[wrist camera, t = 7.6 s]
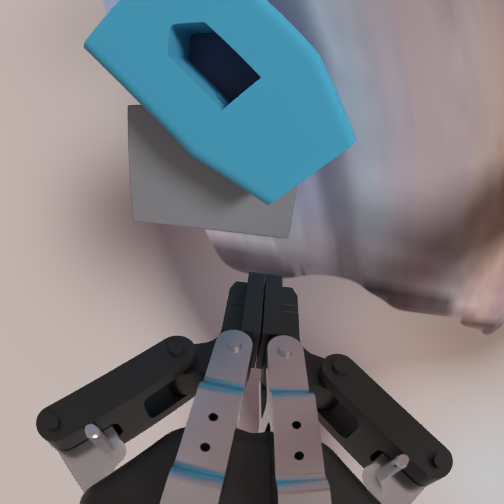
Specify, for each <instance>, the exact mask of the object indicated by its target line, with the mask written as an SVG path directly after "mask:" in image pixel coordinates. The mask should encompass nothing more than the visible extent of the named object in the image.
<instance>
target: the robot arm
mask: <svg viewBox="0 0 504 504" xmlns="http://www.w3.org/2000/svg"><path fill="white" fill-rule="evenodd" d="M264 281H265V284H264ZM256 357H257V363H256V368H259V369H261V378H260V383H259V405H260V406H259V408H260V409H259V410H260V424H259V433H249V432H246V431H243V430H240V429H238V423H239V417H240V413H241V409H242V404H243V399H244V394H245V389H246V384H247V381H248V379H249V375H250V369H251V368H254V367H255V362H256ZM194 396H195V399H194V402H193V405H192V408H191V411H190V414H189V418H188V421H187V424H186V427H184V428H180V429H177V430H175V431H172V432H170V433H169V434H167V435H165V436H164V437H163V438H161V439H160V440H158V441H157V442H156V443H154V444H153V445H152V446H150V447H149V448H147V449H146V450H145V451H143V452H142V453H140V454H139V455H138V456H136V457H135V458H133V459H132V460H130V461H129V462H127V463H126V464H125V465H123V466H121V467H120V468H118V469H117V470H115V471H114V469H115V467H116V466H117V464H119V463H120V462H121V461H122V460H123V459H124V457H125V454H126V446H125V443H126V442H128V441H129V440H131V439H133V438H134V437H136V436H137V435H139V434H140V433H142V432H143V431H145V430H146V429H148V428H150V427H151V426H152V425H154V424H155V423H157V422H158V421H160V420H161V419H163V418H164V417H166V416H167V415H169V414H170V413H172V412H173V411H175V410H176V409H177V408H179V407H180V406H182V405H183V404H184V403H186V402H187V401H189V400H190V399H191V398H193V397H194ZM319 422H320V423H321V424H322V425H323V426H324V427H325V429H326V430H327V431H328V432H329V433H330V434H331V435H332V436H333V437H334V438H335V439H336V440H337V441H338V442H339V443H340V444H341V445H342V446H343V447H344V449H345V450H347V452H348V453H349V454H350V455H351V456H352V457H353V458H354V459H355V460H356V461H357V462H358V463H359V464H360V465H361V466H362V467H363V468H364V470H363V474H362V479H363V482H364V484H365V485H366V487H367V488H368V489H367V488H366V487H365V486H364V485H363V483H362V482H361V481H360V480H359V479H358V478H357V477H356V476H355V475H354V474H353V473H352V472H351V471H350V469H349V468H348V467H347V466H346V465H345V464H344V463H343V462H342V460H341V459H340V458H339V457H338V456H337V455H336V454H335V453H334V451H333V450H331V449H330V448H329V447H328V446H327V445H325V444H323V443H321V436H320V428H319ZM36 426H37V430H38V432H39V434H40V435H41V436H42V437H43V438H44V439H45V440H46V441H48V442H49V443H50V445H51V446H52V447H54V448H55V449H56V450H57V451H58V452H59V453H60V455H61V457H62V459H63V460H64V462H65V464H66V465H67V467H68V468H69V470H70V472H71V473H72V475H73V476H74V478H75V480H76V481H77V483H78V484H79V485H80V487H81V489H82V490H83V491H84V494H83V496H82V498H81V501H80V504H411V503H412V502H413V501H414V499H415V498H416V497H417V496H418V495H419V494H420V493H421V491H422V490H423V489H424V488H425V487H426V486H427V485H429V484H431V483H433V482H435V481H437V480H439V479H441V478H443V477H445V476H446V475H447V474H448V473H449V472H450V470H451V468H452V464H453V459H452V455H451V453H450V451H449V450H448V449H447V448H446V447H445V446H444V445H442V444H441V443H440V442H439V441H438V440H437V439H436V438H435V437H434V436H433V435H432V434H430V433H429V432H428V431H427V430H426V429H425V428H424V427H423V426H422V425H421V424H420V423H419V422H418V421H416V420H415V419H414V418H413V417H412V416H411V415H410V414H409V413H408V412H407V411H406V410H405V409H404V408H402V407H401V406H400V405H399V404H398V403H397V402H396V401H395V400H394V399H393V398H392V397H391V396H390V395H389V394H387V393H386V392H385V391H384V390H383V389H382V388H381V387H380V386H379V385H378V384H377V383H376V382H375V381H374V380H373V379H372V378H370V377H369V376H368V375H367V374H366V373H365V372H364V371H363V370H362V369H361V368H360V367H359V366H358V365H357V364H356V363H354V362H353V361H352V360H351V359H350V358H349V357H347V356H345V355H342V354H332V355H329V356H327V357H326V358H325V359H324V358H321V357H319V356H316V355H313V354H311V353H309V352H308V351H306V350H305V349H304V348H303V346H302V345H301V343H300V338H299V320H298V300H297V295H296V293H295V292H294V290H293V288H289V287H282V275H273V274H266V277H265V274H264V273H256V272H249V277H248V283H245V282H235V283H234V284H233V286H232V287H231V288H230V291H229V296H228V301H227V306H226V311H225V316H224V321H223V326H222V330H221V333H220V335H219V336H218V337H217V338H216V339H214V340H212V341H210V342H207V343H200V344H193V342H192V341H191V340H189V339H188V338H186V337H183V336H171V337H168V338H166V339H164V340H163V341H161V342H159V343H158V344H156V345H155V346H153V347H151V348H149V349H148V350H146V351H144V352H143V353H141V354H139V355H138V356H136V357H134V358H133V359H131V360H129V361H128V362H126V363H124V364H122V365H120V366H119V367H117V368H115V369H114V370H112V371H110V372H108V373H107V374H105V375H103V376H102V377H100V378H98V379H96V380H94V381H93V382H91V383H89V384H87V385H86V386H84V387H82V388H80V389H79V390H77V391H75V392H73V393H71V394H70V395H68V396H66V397H64V398H63V399H61V400H59V401H57V402H55V403H53V404H52V405H50V406H48V407H46V408H45V409H43V410H42V411H41V412H40V413H39V415H38V417H37V421H36Z"/></svg>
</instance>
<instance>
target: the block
mask: <svg viewBox="0 0 504 504" xmlns="http://www.w3.org/2000/svg"><path fill="white" fill-rule="evenodd" d="M195 33H217V34H218V35H219V36H220V37H221V38H222V39H223V40H224V41H225V42H226V43H228V44H229V45H230V46H231V47H232V48H233V49H234V50H235V51H236V52H237V53H238V54H239V55H240V56H241V57H242V58H243V59H244V60H245V61H246V62H247V63H248V64H249V65H250V66H251V68H252V69H253V70H254V71H255V72H256V73H257V74H258V75H259V76H260V77H261V78H260V79H259V80H258V81H256V82H255V83H254V84H253V85H251V86H250V87H249V88H248V89H246V90H245V91H244V92H243V93H242V94H240V95H239V96H238V97H237V98H236V99H234V100H233V101H232V102H230V101H229V100H228V99H227V98H226V97H225V96H224V95H223V94H222V93H221V92H220V91H219V90H218V88H217V87H216V86H215V85H214V84H213V83H212V82H211V81H210V80H209V79H208V78H207V77H206V76H205V75H204V74H203V73H202V72H201V71H200V70H199V69H198V68H197V67H196V66H195V65H194V64H193V63H191V62H190V61H189V44H190V37H191V35H193V34H195ZM84 48H85V49H86V50H87V51H88V52H89V53H90V54H91V55H92V56H93V57H94V58H95V59H96V60H97V61H98V62H100V64H101V65H102V66H103V67H104V68H105V69H106V70H107V71H108V72H109V73H110V74H112V75H113V77H115V79H117V80H118V81H119V82H120V83H121V84H122V85H123V86H124V87H125V88H126V89H127V90H128V91H129V92H130V93H131V94H132V96H134V98H136V99H137V101H139V103H140V104H141V105H142V106H143V107H144V108H145V109H146V110H147V111H148V112H149V113H150V114H151V115H152V116H153V117H154V118H155V119H156V120H157V121H158V122H159V123H160V124H161V125H162V126H163V127H164V128H165V129H166V130H167V131H168V132H169V133H170V134H171V135H172V136H173V137H174V138H175V139H176V140H177V141H178V142H179V143H180V145H181V146H182V147H183V148H184V149H185V150H186V151H187V152H188V153H189V154H190V155H191V156H192V157H194V158H195V159H197V160H199V161H200V162H202V163H203V164H205V165H206V166H208V167H210V168H211V169H213V170H214V171H216V172H218V173H219V174H221V175H222V176H224V177H225V178H227V179H228V180H230V181H232V182H233V183H235V184H236V185H238V186H239V187H241V188H242V189H244V190H245V191H247V192H248V193H250V194H252V195H253V196H255V197H256V198H258V199H259V200H261V201H262V202H264V203H265V204H267V205H269V204H271V203H273V202H275V201H276V200H277V199H279V198H280V197H282V196H283V195H284V194H286V193H287V192H288V191H290V190H291V189H293V188H294V187H295V186H297V185H298V184H299V183H301V182H302V181H304V180H305V179H306V178H308V177H309V176H310V175H312V174H313V173H315V172H316V171H317V170H319V169H320V168H322V167H323V166H324V165H326V164H327V163H329V162H330V161H331V160H333V159H334V158H336V157H337V156H338V155H340V154H341V153H343V152H344V151H346V150H347V149H348V148H350V147H351V146H352V145H353V144H354V143H355V141H356V137H355V135H354V132H353V130H352V127H351V124H350V122H349V119H348V117H347V114H346V112H345V110H344V107H343V105H342V103H341V100H340V98H339V96H338V93H337V91H336V89H335V87H334V84H333V82H332V80H331V78H330V76H329V74H328V71H327V69H326V67H325V65H324V63H323V61H322V59H321V57H320V55H319V53H318V52H317V51H316V50H315V49H314V48H313V47H312V45H311V44H310V43H309V42H308V41H307V40H306V39H305V38H304V37H303V36H302V35H301V34H300V32H299V31H298V30H297V29H296V28H295V27H294V26H293V25H292V24H291V23H290V22H289V21H288V20H287V19H286V18H285V17H284V16H283V15H282V14H281V13H280V12H279V11H278V10H277V9H275V8H274V7H273V6H272V5H271V4H270V3H269V2H268V1H267V0H120V1H119V2H118V3H117V4H116V5H115V6H114V7H113V8H112V9H111V11H110V12H109V13H108V14H107V15H106V16H105V18H104V19H103V20H102V21H101V22H100V23H99V25H98V26H97V27H96V28H95V30H94V31H93V32H92V33H91V34H90V36H89V37H88V38H87V40H86V41H85V43H84Z"/></svg>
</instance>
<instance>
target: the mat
mask: <svg viewBox="0 0 504 504" xmlns="http://www.w3.org/2000/svg"><path fill="white" fill-rule="evenodd" d="M128 147H129V167H130V183H131V196H132V207H133V217H134V221H142V222H152V223H161V224H170V225H180V226H188V227H197V228H206V229H215V230H223V231H232V232H241V233H249V234H257V235H266V236H274V237H282V238H288V236H289V230H290V225H291V219H292V213H293V207H294V202H295V196H296V190H297V186H295V187H294V188H293V189H291V190H290V191H288V192H287V193H286V194H284V195H283V196H282V197H280V198H279V199H277V200H276V201H275V202H273V203H271V204H269V205H267V204H265V203H264V202H262V201H261V200H259V199H258V198H256V197H255V196H253V195H252V194H250V193H248V192H247V191H245V190H244V189H242V188H241V187H239V186H238V185H236V184H235V183H233V182H232V181H230V180H228V179H227V178H225V177H224V176H222V175H221V174H219V173H218V172H216V171H214V170H213V169H211V168H210V167H208V166H206V165H205V164H203V163H202V162H200V161H199V160H197V159H195V158H194V157H192V156H191V155H190V154H189V153H188V152H187V151H186V150H185V149H184V148H183V147H182V146H181V145H180V143H179V142H178V141H177V140H176V139H175V138H174V137H173V136H172V135H171V134H170V133H169V132H168V131H167V130H166V129H165V128H164V127H163V126H162V125H161V124H160V123H159V122H158V121H157V120H156V119H155V118H154V117H153V116H152V115H151V114H150V113H149V112H148V111H147V110H146V109H145V108H144V107H143V106H142V105H129V106H128Z"/></svg>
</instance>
